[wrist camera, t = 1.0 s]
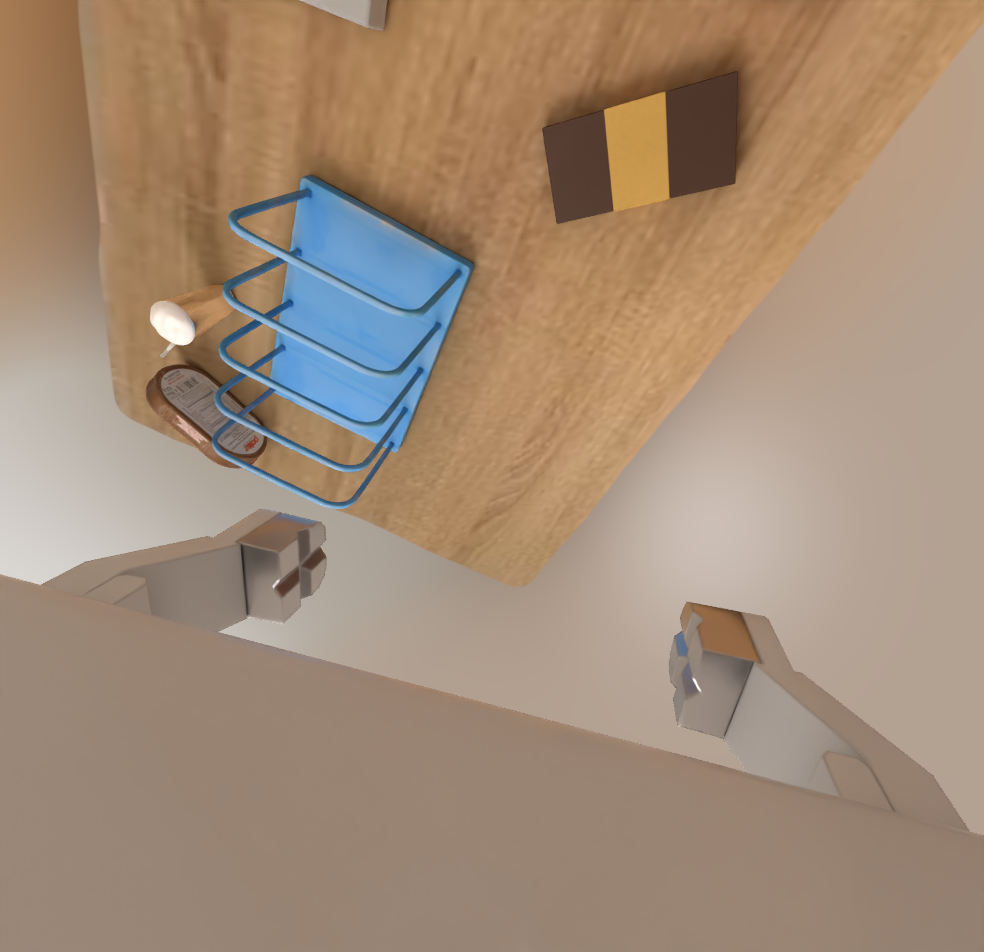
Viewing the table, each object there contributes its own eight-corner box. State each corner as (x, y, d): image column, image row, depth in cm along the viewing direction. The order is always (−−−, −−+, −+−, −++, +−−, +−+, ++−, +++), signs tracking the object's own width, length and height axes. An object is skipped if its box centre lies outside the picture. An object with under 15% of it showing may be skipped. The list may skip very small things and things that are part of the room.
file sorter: (402, 445, 64) (347, 526, 52) (276, 382, 62) (191, 450, 50) (476, 263, 48) (422, 318, 36) (310, 172, 47) (198, 199, 35)
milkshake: (206, 314, 59) (140, 347, 51) (204, 270, 55) (133, 299, 48) (241, 330, 59) (181, 366, 51) (242, 288, 56) (178, 319, 48)
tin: (178, 364, 64) (126, 394, 58) (187, 350, 63) (135, 380, 56) (271, 446, 69) (232, 482, 63) (282, 435, 68) (244, 471, 61)
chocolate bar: (558, 221, 44) (556, 224, 43) (544, 126, 40) (541, 127, 39) (732, 181, 40) (735, 184, 38) (735, 70, 36) (738, 69, 35)
